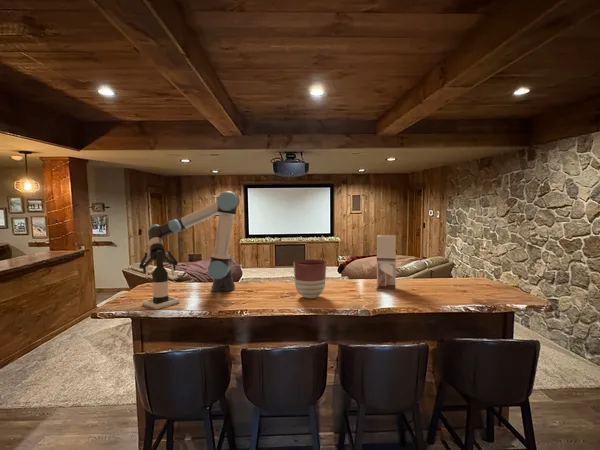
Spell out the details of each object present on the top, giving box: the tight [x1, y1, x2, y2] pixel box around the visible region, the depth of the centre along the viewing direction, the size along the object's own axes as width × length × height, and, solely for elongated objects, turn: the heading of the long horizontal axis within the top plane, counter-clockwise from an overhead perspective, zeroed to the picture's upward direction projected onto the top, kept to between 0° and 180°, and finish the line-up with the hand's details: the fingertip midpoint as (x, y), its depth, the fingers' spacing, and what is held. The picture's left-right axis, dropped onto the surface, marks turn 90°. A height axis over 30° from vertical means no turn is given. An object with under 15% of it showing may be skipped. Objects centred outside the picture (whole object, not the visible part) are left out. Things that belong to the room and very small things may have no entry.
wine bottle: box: [151, 250, 169, 304], centre depth 188 cm, size 8×8×30 cm
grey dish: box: [141, 296, 180, 310], centre depth 189 cm, size 14×14×2 cm
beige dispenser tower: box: [376, 234, 397, 293], centre depth 217 cm, size 11×11×35 cm
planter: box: [293, 259, 327, 300], centre depth 199 cm, size 20×20×21 cm
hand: (160, 276), depth 186 cm, fingers open, 13 cm apart
